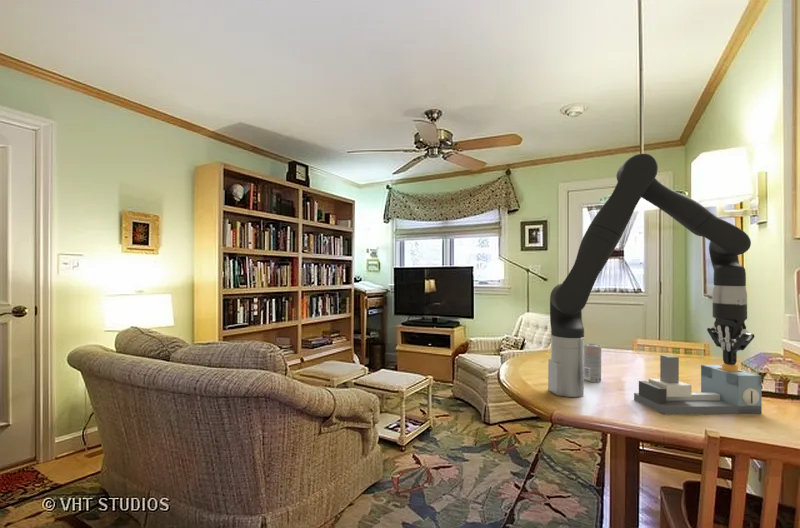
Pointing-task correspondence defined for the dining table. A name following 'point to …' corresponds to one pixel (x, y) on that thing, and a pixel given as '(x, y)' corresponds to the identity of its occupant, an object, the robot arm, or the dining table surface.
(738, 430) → the dining table surface
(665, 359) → the carriage
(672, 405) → the rail track
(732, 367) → the button
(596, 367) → the energy drink
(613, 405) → the dining table surface
